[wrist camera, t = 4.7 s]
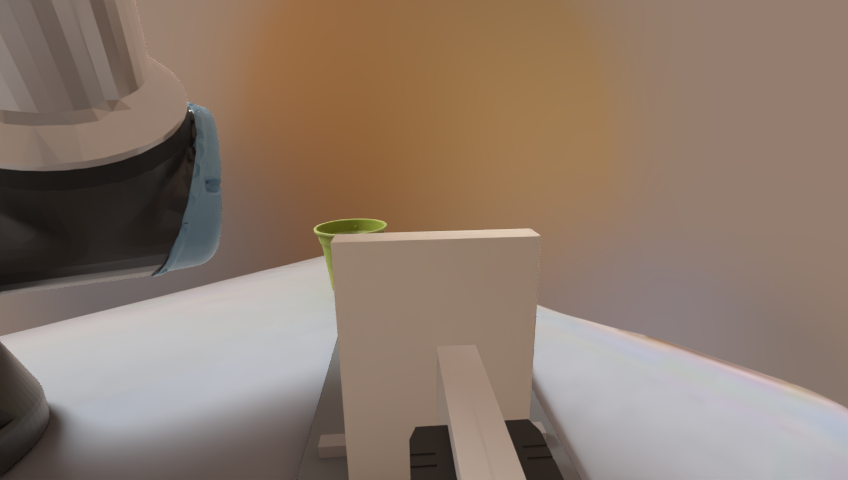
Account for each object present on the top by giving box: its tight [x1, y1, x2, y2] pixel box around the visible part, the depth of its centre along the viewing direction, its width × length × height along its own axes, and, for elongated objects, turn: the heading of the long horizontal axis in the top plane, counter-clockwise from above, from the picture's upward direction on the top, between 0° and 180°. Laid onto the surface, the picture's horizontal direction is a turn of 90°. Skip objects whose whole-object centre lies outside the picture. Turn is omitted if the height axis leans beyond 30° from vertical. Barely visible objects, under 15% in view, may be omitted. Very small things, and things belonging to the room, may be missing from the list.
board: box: [296, 337, 581, 480], centre depth 29 cm, size 24×16×2 cm, turn 4°
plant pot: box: [314, 219, 387, 291], centre depth 53 cm, size 9×9×9 cm
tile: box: [331, 229, 541, 480], centre depth 21 cm, size 2×10×14 cm, turn 94°
